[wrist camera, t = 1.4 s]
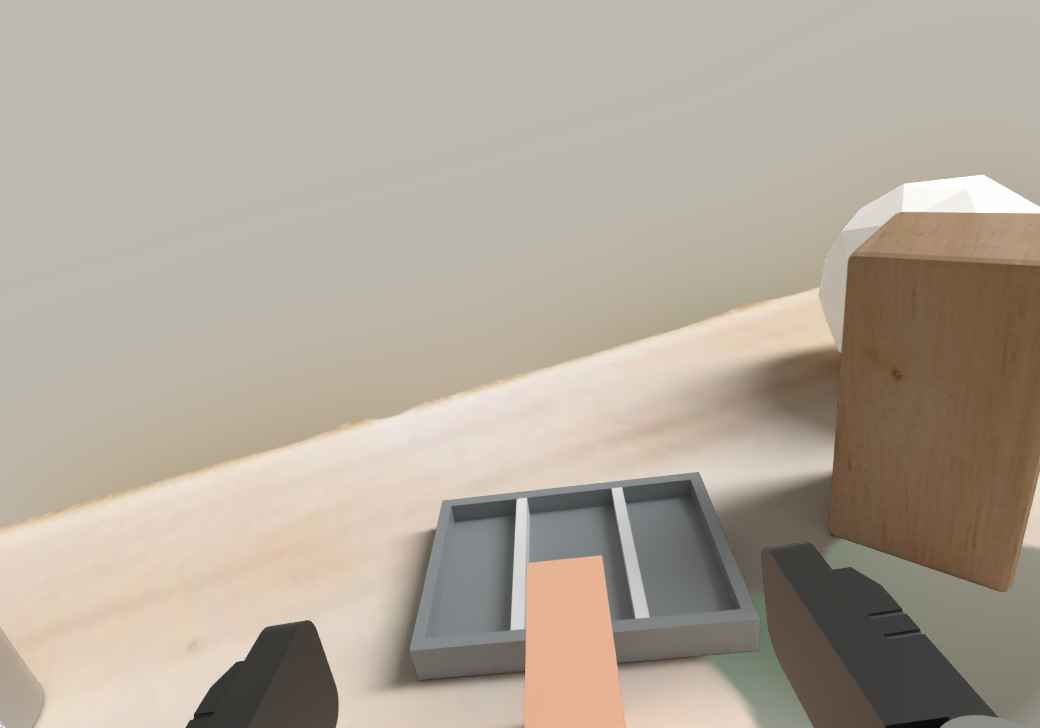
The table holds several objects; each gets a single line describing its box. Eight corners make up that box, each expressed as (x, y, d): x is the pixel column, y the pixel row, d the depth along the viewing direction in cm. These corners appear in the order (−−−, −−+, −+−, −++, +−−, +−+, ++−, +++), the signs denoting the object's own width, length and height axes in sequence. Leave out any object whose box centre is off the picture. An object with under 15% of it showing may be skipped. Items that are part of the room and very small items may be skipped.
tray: (759, 650, 35) (760, 618, 34) (418, 680, 36) (409, 650, 35) (699, 498, 47) (698, 472, 46) (448, 525, 49) (442, 500, 48)
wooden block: (825, 536, 42) (845, 253, 34) (869, 462, 48) (894, 209, 40) (1009, 598, 35) (1089, 266, 27) (1031, 504, 42) (1102, 211, 33)
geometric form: (988, 413, 63) (839, 253, 70) (1215, 302, 48) (994, 111, 55) (901, 489, 54) (740, 295, 61) (1147, 382, 38) (892, 139, 46)
